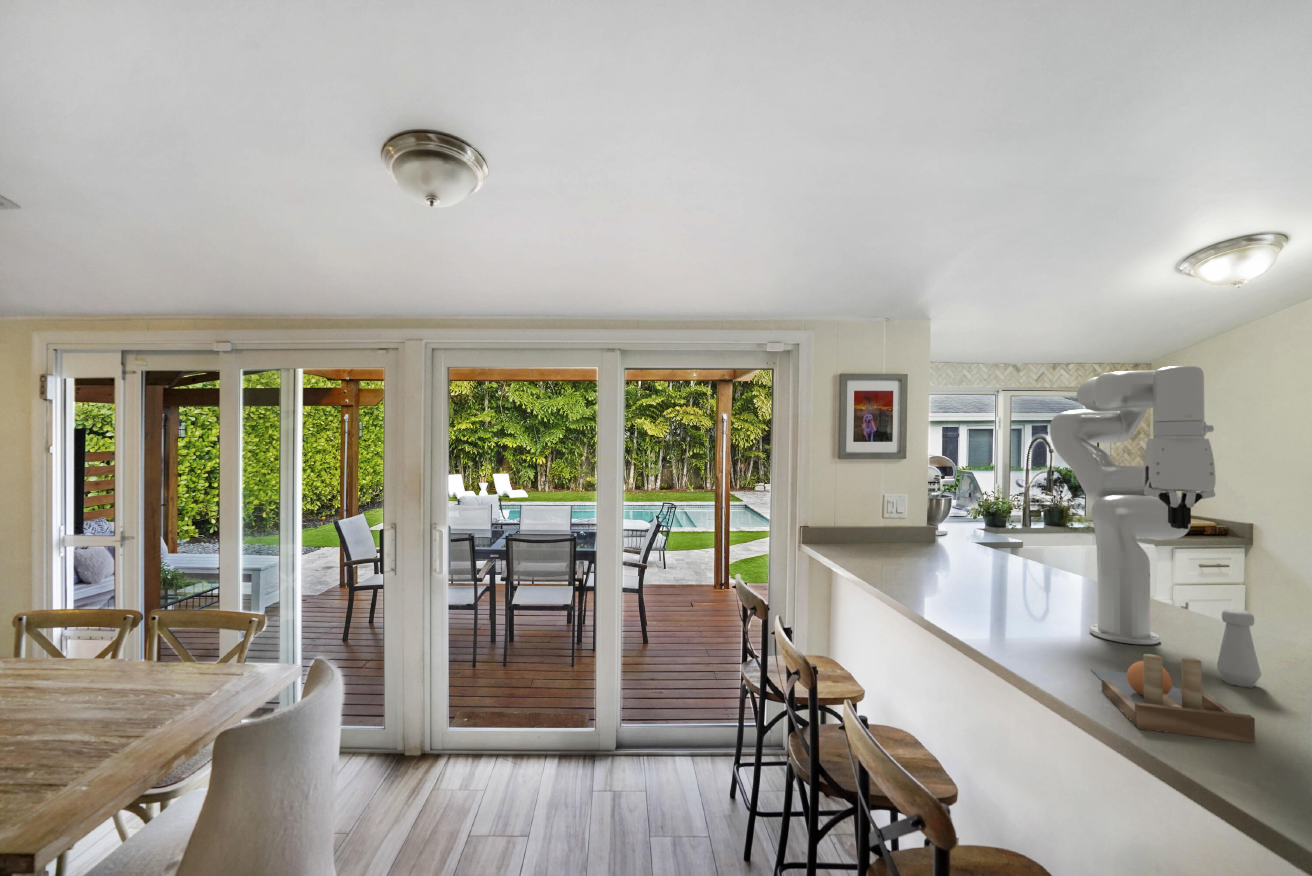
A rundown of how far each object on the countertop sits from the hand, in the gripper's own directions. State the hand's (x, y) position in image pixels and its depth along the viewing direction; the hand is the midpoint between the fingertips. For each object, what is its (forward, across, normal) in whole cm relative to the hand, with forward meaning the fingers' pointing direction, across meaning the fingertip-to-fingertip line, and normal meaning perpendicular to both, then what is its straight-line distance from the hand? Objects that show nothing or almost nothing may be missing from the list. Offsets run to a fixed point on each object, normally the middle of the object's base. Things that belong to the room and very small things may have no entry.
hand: (1179, 527), depth 119 cm
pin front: (+26, +11, +21) cm, 35 cm away
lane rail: (+27, +10, +24) cm, 38 cm away
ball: (+24, +11, +17) cm, 31 cm away
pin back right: (+27, +13, +24) cm, 39 cm away
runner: (+27, +10, +18) cm, 34 cm away
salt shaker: (+27, -7, +4) cm, 28 cm away
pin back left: (+27, +8, +24) cm, 37 cm away
